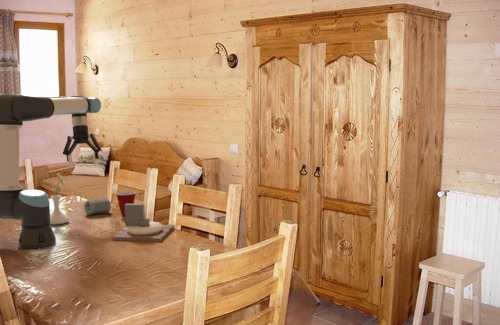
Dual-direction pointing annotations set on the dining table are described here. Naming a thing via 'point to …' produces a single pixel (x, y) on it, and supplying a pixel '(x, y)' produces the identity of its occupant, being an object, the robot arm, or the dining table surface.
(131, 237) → the dial plate
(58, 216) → the flower in vase
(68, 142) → the robot arm
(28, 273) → the dining table surface
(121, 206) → the plastic cup
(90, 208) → the rolled towel
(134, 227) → the dial
